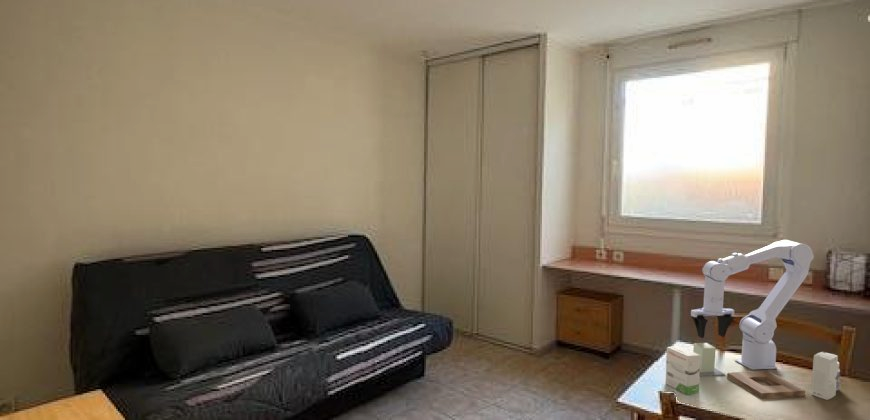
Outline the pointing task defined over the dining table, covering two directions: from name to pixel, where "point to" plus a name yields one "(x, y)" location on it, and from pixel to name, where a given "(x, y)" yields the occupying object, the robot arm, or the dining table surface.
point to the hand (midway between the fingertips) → (711, 336)
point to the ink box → (682, 369)
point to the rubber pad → (711, 373)
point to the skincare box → (824, 375)
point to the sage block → (705, 356)
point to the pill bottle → (838, 377)
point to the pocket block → (777, 390)
